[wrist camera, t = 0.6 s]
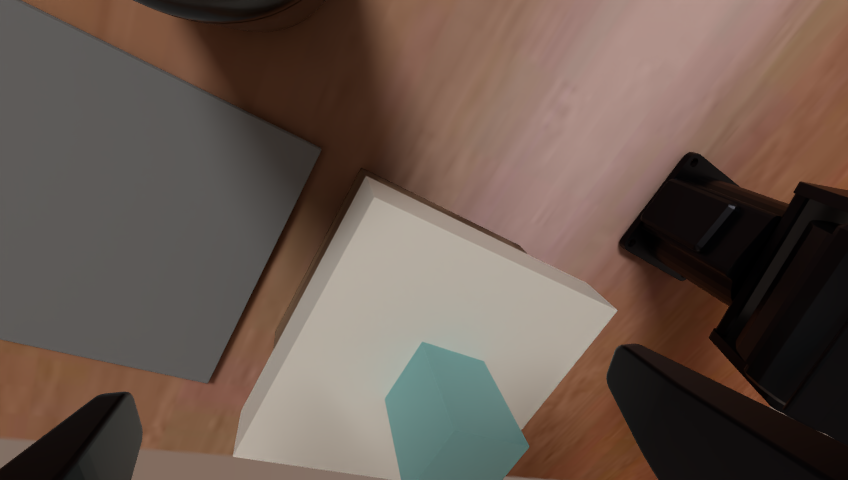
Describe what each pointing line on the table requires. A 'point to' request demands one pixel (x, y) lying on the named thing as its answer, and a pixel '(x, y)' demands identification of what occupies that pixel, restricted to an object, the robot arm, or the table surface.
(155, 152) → the mat
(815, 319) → the robot arm
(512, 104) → the table surface
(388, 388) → the lid
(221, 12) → the supplement bottle
